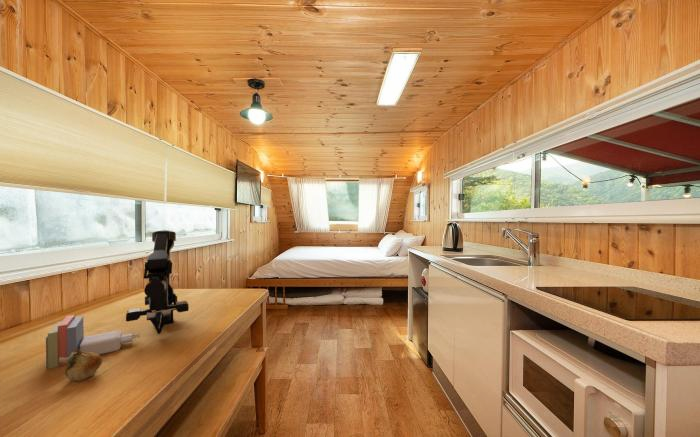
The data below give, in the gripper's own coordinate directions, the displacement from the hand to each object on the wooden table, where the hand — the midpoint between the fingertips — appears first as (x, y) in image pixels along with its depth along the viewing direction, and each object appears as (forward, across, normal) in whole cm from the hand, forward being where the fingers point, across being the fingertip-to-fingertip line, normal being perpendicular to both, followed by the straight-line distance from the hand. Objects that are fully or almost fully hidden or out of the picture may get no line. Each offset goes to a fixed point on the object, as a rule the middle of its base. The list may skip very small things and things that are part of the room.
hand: (159, 333), depth 103 cm
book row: (+2, +24, 0) cm, 24 cm away
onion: (+2, +18, +19) cm, 26 cm away
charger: (+2, +13, 0) cm, 13 cm away
